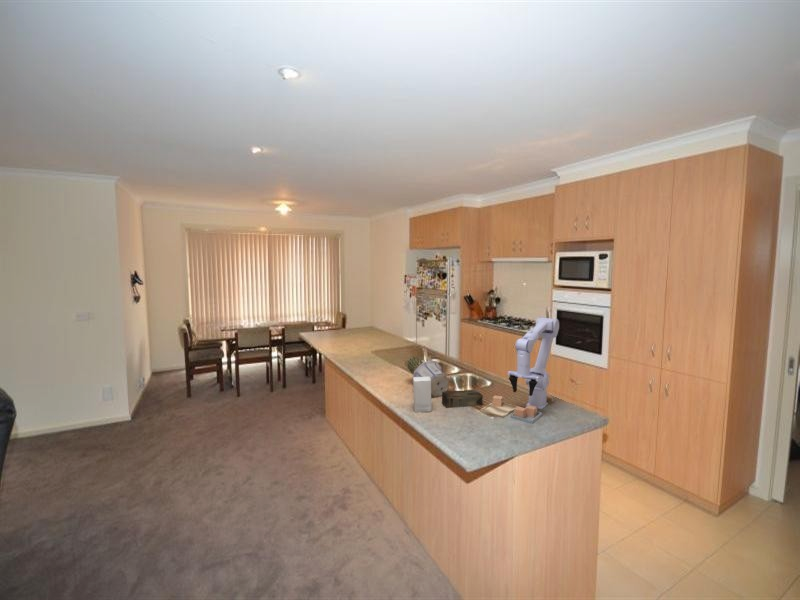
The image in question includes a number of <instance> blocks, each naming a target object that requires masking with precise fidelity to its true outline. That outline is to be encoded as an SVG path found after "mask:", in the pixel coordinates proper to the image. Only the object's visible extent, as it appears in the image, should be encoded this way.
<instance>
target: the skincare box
mask: <svg viewBox="0 0 800 600" xmlns="http://www.w3.org/2000/svg"><path fill="white" fill-rule="evenodd" d="M412 386H413V409H414V410H413V411H414V413H427V412H428V413H430V412H432V397H431V379H430V377H413V376H412Z"/></svg>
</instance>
